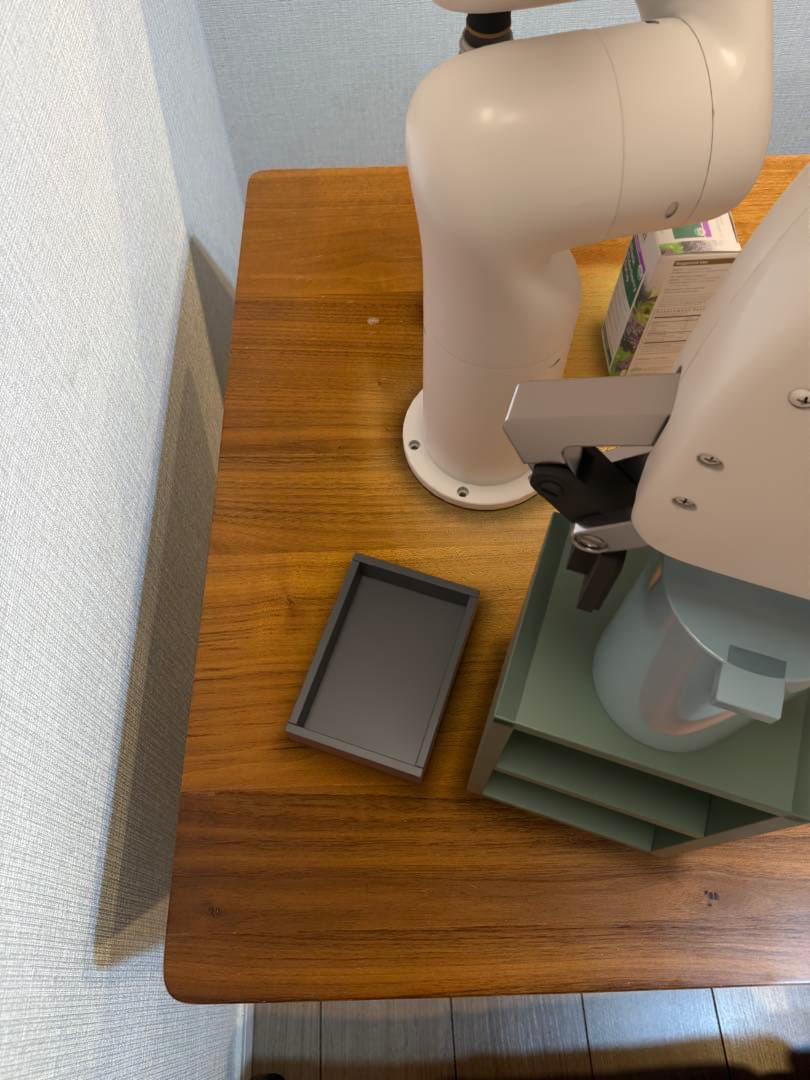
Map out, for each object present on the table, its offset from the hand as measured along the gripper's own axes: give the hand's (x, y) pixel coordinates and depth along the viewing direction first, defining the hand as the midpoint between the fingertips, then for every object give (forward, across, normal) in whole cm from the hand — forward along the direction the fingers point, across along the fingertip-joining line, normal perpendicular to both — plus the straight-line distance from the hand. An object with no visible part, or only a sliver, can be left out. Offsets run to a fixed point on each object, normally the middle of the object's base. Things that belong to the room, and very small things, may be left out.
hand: (740, 614), depth 27 cm
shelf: (+30, 0, -1) cm, 30 cm away
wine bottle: (+30, +18, -34) cm, 49 cm away
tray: (+30, +14, -2) cm, 33 cm away
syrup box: (+30, +3, -34) cm, 46 cm away
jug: (+8, 0, 0) cm, 8 cm away
